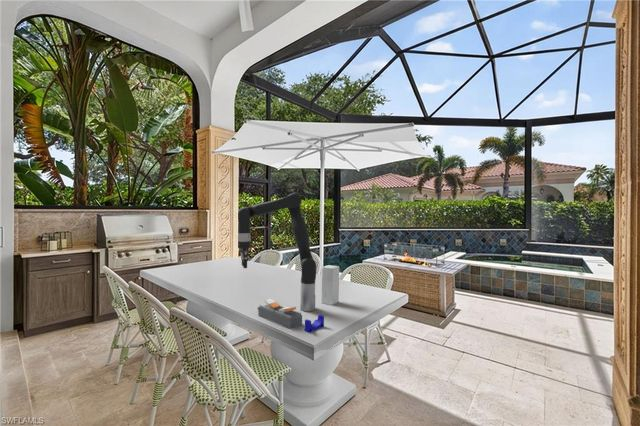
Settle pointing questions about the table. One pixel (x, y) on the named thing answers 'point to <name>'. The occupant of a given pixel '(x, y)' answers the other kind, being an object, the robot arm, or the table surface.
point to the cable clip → (314, 324)
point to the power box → (280, 316)
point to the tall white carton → (330, 284)
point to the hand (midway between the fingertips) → (244, 266)
